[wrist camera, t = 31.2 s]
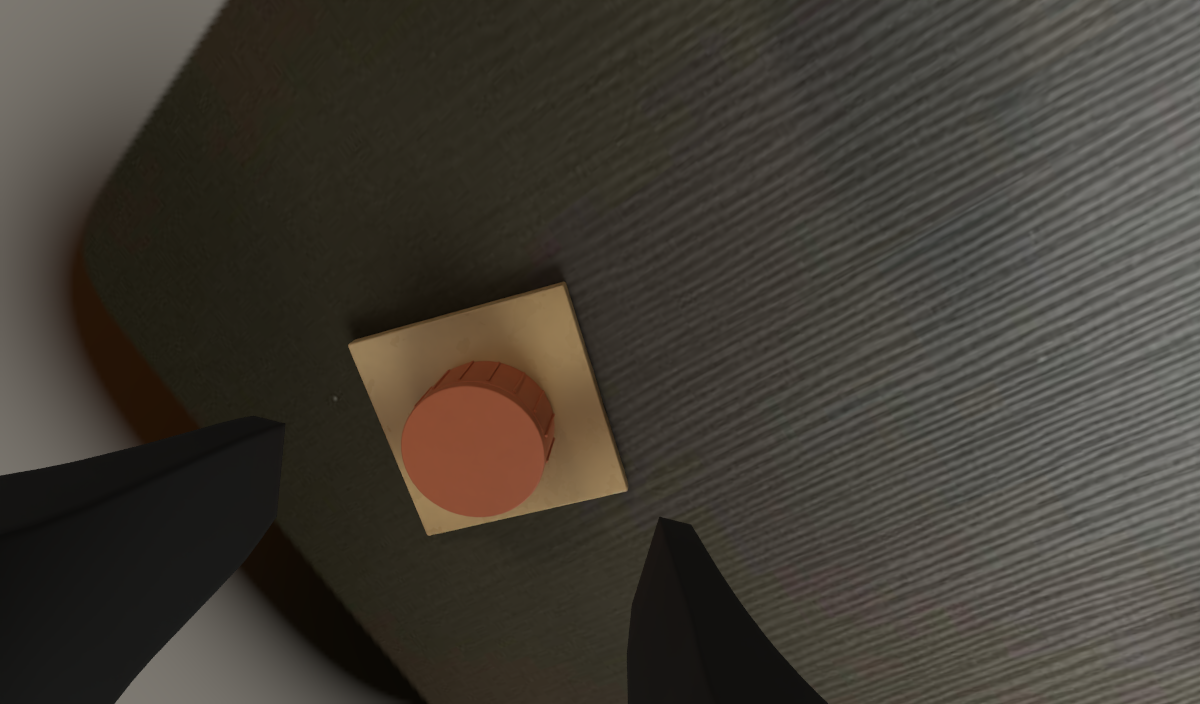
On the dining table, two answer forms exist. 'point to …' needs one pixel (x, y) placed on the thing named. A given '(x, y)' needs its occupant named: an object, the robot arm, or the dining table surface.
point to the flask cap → (479, 439)
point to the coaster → (519, 339)
